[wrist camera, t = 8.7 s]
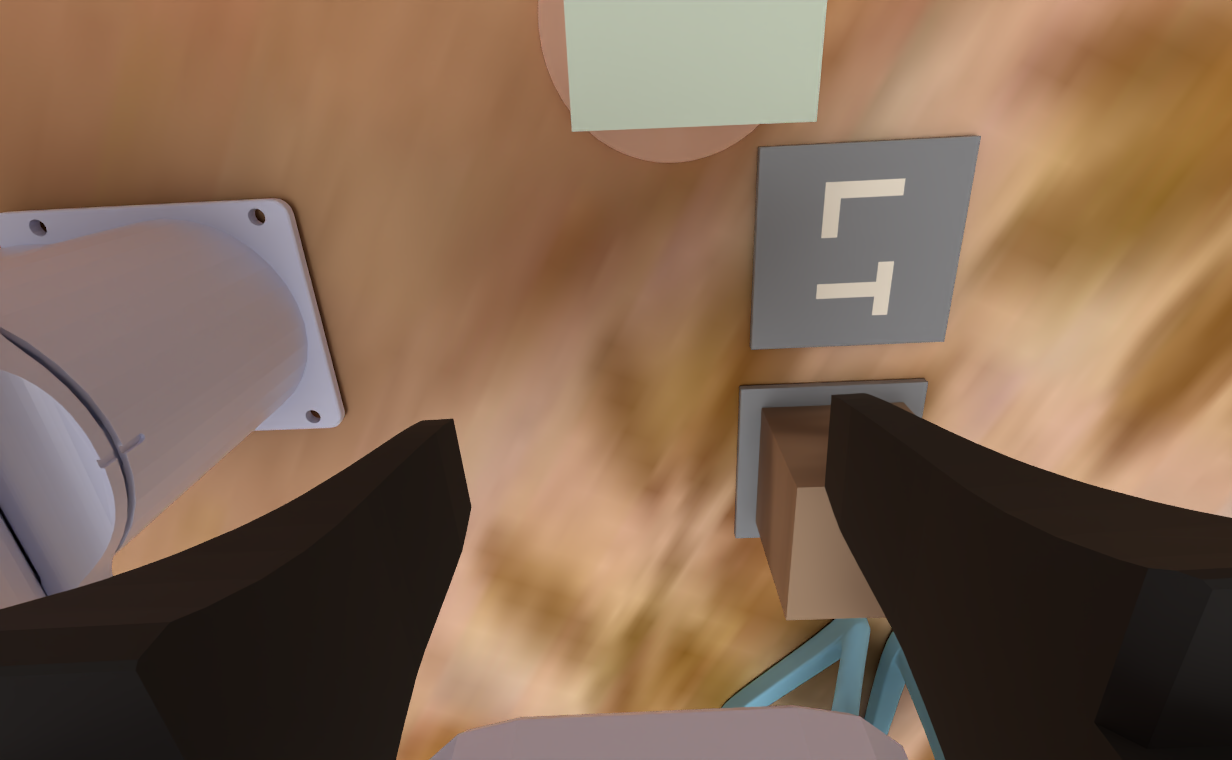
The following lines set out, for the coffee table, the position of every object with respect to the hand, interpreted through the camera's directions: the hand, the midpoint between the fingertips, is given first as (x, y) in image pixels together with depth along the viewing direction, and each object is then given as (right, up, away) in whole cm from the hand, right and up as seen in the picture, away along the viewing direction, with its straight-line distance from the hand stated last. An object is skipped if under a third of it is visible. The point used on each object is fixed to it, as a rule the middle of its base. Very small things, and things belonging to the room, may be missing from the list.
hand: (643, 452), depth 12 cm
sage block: (+1, +11, +5) cm, 13 cm away
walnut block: (+7, -2, +11) cm, 13 cm away
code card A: (+7, +6, +8) cm, 12 cm away
